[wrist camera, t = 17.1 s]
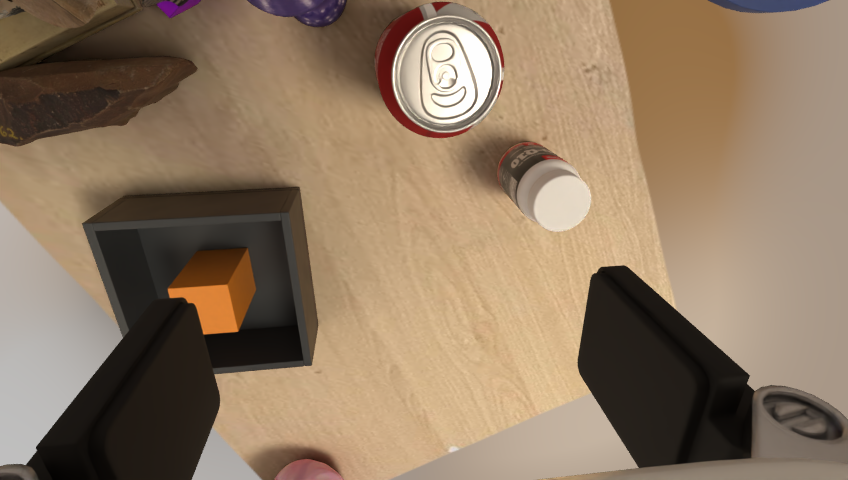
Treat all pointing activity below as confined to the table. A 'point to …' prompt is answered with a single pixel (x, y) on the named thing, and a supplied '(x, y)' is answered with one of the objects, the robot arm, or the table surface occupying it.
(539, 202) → the pill bottle
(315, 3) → the toy lamp
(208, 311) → the orange block
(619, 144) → the table surface
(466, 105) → the soda can
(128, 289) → the bin
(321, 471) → the cupcake
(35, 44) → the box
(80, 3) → the tan hollow rounded piece
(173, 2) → the toy
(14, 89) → the stone tool
